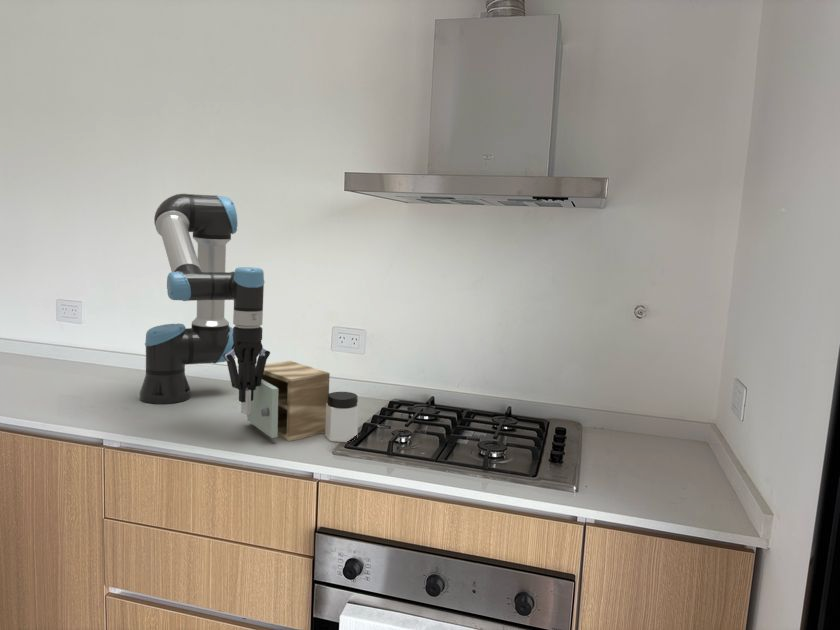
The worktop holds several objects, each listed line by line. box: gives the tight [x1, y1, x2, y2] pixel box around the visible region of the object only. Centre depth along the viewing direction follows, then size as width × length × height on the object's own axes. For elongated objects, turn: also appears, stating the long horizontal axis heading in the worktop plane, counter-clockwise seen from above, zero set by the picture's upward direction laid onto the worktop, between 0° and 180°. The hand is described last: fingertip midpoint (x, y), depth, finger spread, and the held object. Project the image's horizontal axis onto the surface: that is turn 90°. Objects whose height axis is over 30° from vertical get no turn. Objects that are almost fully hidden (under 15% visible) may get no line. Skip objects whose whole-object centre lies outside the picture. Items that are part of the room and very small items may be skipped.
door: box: [246, 380, 278, 439], centre depth 182 cm, size 18×3×13 cm, turn 36°
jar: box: [324, 391, 359, 443], centre depth 183 cm, size 9×8×12 cm
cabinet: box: [251, 360, 331, 442], centre depth 188 cm, size 19×13×17 cm
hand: (245, 413), depth 179 cm, fingers closed
